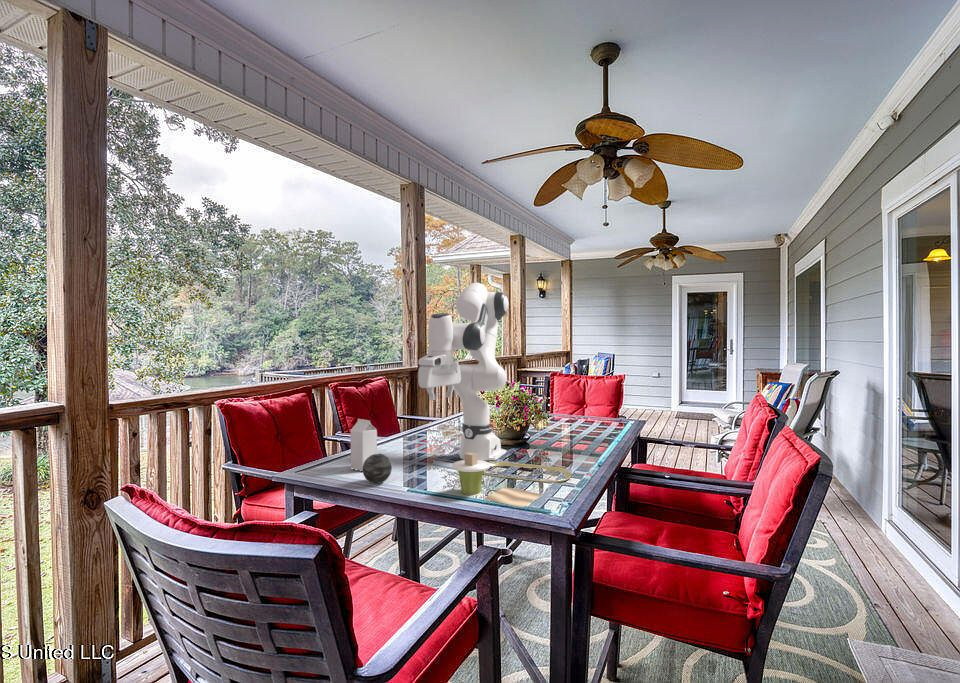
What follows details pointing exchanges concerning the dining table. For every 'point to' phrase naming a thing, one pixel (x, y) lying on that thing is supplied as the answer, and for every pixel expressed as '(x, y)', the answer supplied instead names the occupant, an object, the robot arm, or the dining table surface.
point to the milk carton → (362, 443)
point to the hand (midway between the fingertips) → (440, 398)
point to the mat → (513, 497)
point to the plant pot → (471, 482)
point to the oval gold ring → (530, 467)
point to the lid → (471, 464)
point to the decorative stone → (377, 468)
